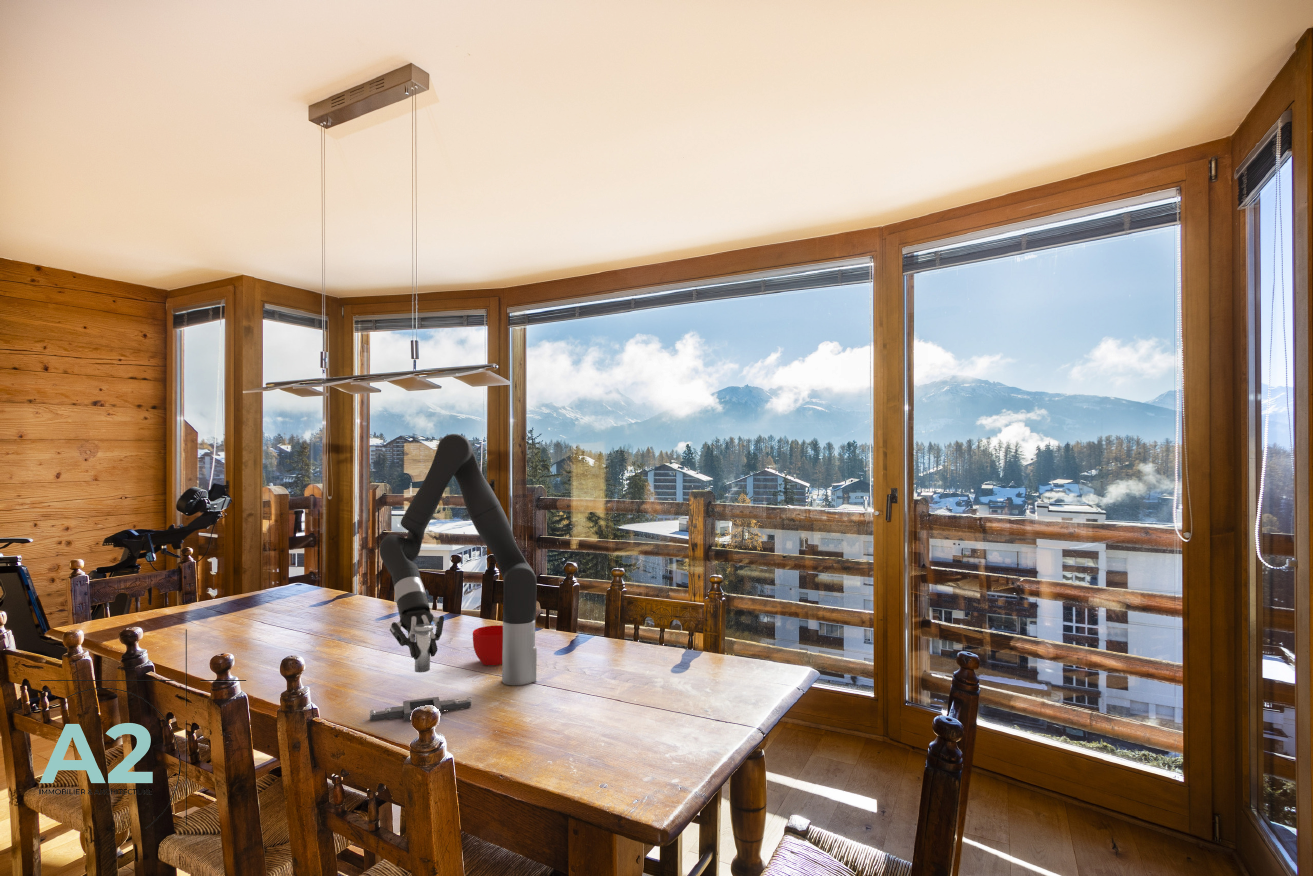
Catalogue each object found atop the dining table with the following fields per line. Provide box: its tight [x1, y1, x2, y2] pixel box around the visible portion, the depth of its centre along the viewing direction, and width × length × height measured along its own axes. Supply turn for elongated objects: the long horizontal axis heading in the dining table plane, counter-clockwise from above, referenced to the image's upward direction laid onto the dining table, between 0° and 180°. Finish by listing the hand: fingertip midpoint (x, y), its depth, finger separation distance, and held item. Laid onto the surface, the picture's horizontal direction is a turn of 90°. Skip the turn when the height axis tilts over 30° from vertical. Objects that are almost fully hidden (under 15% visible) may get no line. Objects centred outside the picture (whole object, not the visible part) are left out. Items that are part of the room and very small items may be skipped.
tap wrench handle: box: [369, 696, 472, 723], centre depth 162 cm, size 24×9×2 cm, turn 113°
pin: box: [414, 623, 434, 673], centre depth 162 cm, size 5×5×11 cm
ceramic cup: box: [472, 624, 503, 666], centre depth 202 cm, size 13×17×10 cm
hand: (425, 655), depth 161 cm, fingers closed on pin, 3 cm apart
